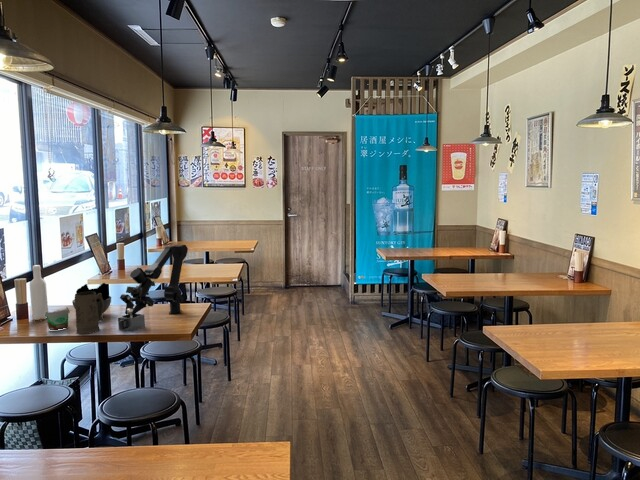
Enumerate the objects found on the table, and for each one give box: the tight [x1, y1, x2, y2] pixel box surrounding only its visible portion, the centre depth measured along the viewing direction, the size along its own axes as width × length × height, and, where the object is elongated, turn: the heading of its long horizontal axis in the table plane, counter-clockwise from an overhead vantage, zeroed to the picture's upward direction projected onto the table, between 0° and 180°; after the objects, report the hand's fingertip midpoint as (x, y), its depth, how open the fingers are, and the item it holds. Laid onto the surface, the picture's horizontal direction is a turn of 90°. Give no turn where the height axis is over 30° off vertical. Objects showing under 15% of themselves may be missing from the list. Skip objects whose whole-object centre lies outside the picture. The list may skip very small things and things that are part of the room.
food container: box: [45, 306, 70, 330], centre depth 267 cm, size 12×6×10 cm, turn 148°
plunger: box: [127, 307, 134, 318], centre depth 266 cm, size 7×7×10 cm
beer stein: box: [74, 292, 104, 335], centre depth 264 cm, size 15×11×20 cm
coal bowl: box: [71, 282, 112, 315], centre depth 290 cm, size 20×20×19 cm
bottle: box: [29, 264, 49, 319], centre depth 287 cm, size 8×8×30 cm
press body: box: [117, 313, 146, 332], centre depth 265 cm, size 12×9×6 cm
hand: (129, 314), depth 264 cm, fingers closed on plunger, 4 cm apart
